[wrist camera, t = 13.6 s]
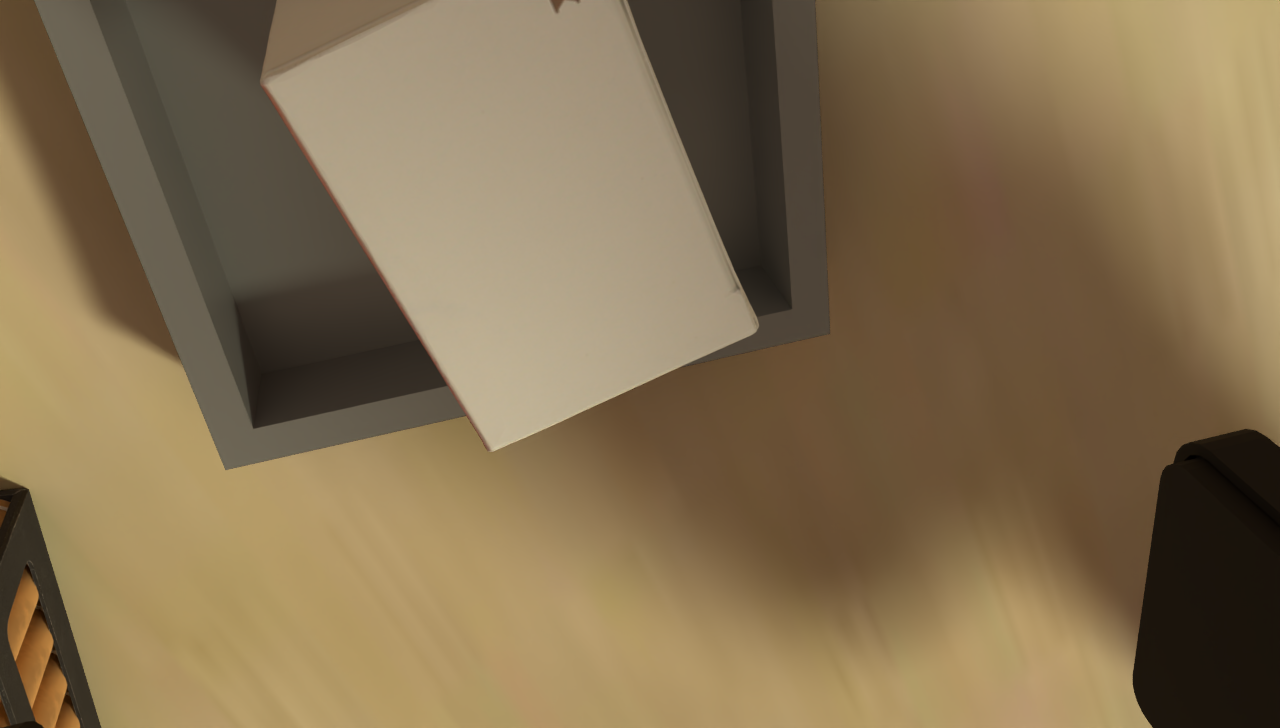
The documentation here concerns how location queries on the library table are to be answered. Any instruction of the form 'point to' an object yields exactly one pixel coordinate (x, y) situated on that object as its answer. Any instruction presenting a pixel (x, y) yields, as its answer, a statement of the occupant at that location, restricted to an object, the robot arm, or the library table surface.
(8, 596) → the ammunition clip
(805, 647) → the library table surface
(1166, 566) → the robot arm
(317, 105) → the small box
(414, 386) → the tray
